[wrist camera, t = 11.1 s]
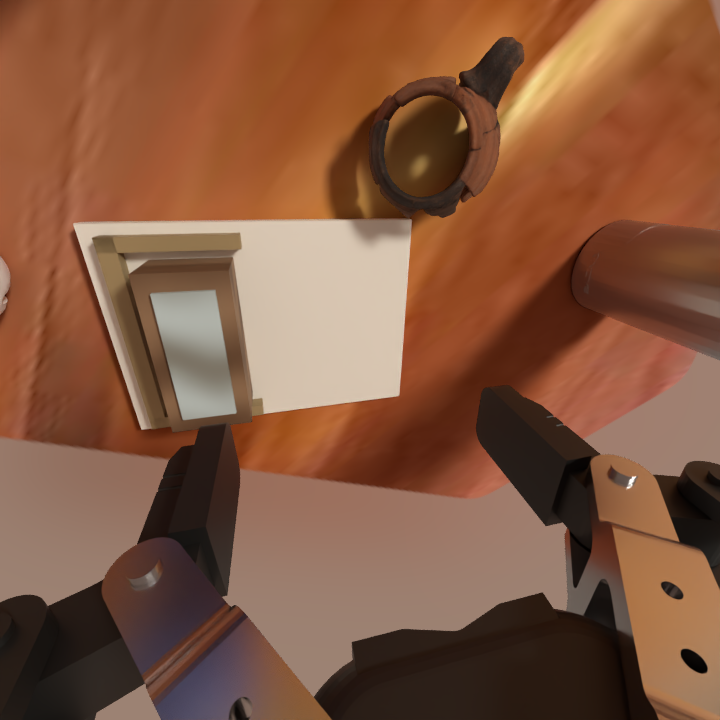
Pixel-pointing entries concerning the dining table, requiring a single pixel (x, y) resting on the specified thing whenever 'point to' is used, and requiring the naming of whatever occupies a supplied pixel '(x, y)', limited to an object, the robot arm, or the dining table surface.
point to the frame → (195, 339)
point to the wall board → (271, 303)
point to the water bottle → (3, 284)
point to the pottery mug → (479, 110)
